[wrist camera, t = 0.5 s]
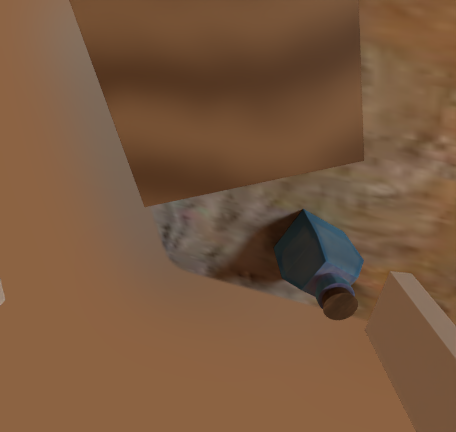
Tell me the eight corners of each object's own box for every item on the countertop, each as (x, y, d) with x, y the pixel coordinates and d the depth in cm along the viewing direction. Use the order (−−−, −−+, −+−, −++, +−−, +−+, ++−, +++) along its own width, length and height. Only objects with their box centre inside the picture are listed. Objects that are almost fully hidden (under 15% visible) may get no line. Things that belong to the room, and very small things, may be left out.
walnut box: (124, -7, 29) (49, -55, 16) (292, -51, 28) (353, -140, 15) (171, 151, 35) (144, 207, 22) (310, 121, 34) (364, 160, 21)
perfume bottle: (303, 208, 39) (335, 268, 28) (343, 232, 40) (389, 297, 29) (273, 247, 41) (292, 316, 30) (313, 268, 42) (344, 341, 32)
